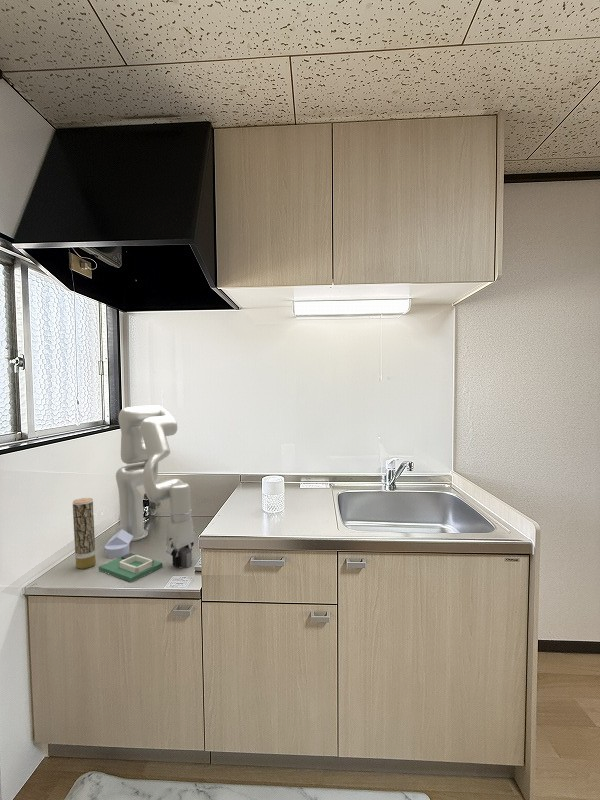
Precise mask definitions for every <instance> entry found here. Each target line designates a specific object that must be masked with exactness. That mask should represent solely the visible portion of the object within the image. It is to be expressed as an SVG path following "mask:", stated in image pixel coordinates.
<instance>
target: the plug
mask: <svg viewBox="0 0 600 800" xmlns="http://www.w3.org/2000/svg"><path fill="white" fill-rule="evenodd" d="M175 553H176V550H175ZM192 555H193V554H192V551H191V549H190V548H186V547H182V548H180V551H179V557H180V567H179V568H181V569H189V568H190V567H192V565H193V559H192ZM171 558H172V560H171V561H172V564H173V556H171Z"/></svg>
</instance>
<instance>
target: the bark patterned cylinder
mask: <svg viewBox="0 0 600 800" xmlns="http://www.w3.org/2000/svg"><path fill="white" fill-rule="evenodd" d="M72 515H73V519H72V521H73V535H74V536H73V537H74V555H75V566H76V568H78V569H80V570H81V569H84V568H85V569H88V568H92V567H93V566H95V565H96V561H97V560H96V559H97V558H96V539H95V519H94V517H95V516H94V499H93V498H91V497H82V498H77V499H74V500H72Z"/></svg>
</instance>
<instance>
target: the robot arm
mask: <svg viewBox="0 0 600 800" xmlns="http://www.w3.org/2000/svg"><path fill="white" fill-rule="evenodd" d="M118 424H119V428H120V432H121V436H120V437H121V438H120V459H121V461H122V463H124V464H127V465H125V466H122V467H120V468H118V469H117V470H116V473H115V480H116V484H117V485H116V486H117V489H118V498H119V499H118V500H119V501H118V502H119V517H120V519H119V520H120V522H119V523H120V524H119V525H117V526H116V530H119V531H120V530H122V529H123V530H124V531H126V532H127V533H129V534H131V535H132V536H133V538H132V540H131V541H130V542H136V541H140V540H142V539H144V538H146V537H147V536H148V534H149V533H148V530H146V529H145V528H144V527H145V526H144V502H143V494H142V492H141V491H140V490H139V489H138V487H140V486H143V488H144V491H145V495H146V497H147V499H148V500H149V502H150V503H151V502H152V503H154V504H155V503H161V502H165V501H168V500H169V519H170V520H169V521H168V524H167V531H166V549H165V552H166V553H167V554H169V555H170V556H171V557H172V556H173V563H172V566H173V567H175V568H181V567H180V557H179V551H180V548H182V547H186V548H190V549H191V552H192V551H193V547H194V544H195V542H196V541H197V537H196V536H195V528H194V521H193V518H192V513H193V511H192V507H191V502H192V501H191V486H190V484H189V483H186V482H183V480H181V478H169V479H164V480H160V481H157V479H158V475H159V473H158V472H159V462H162V460H164V459H166V458H168V456H169V455H170V454H171V450H170V449H171V448H170V446H169V443H168V438H167V437H170V436H175V435H176V434H177V431H178V423H177V421H176V418H175V417H174V416H173V415H172V414H171V412H169V410H166V409H165V408H164V407H163V406H162V405H159V404H151V405H150V404H146V405H135V406H134V405H133V406H127V407H124V408H122V409H120V411H119V413H118ZM175 550H176V553H175Z"/></svg>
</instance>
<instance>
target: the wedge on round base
mask: <svg viewBox="0 0 600 800" xmlns="http://www.w3.org/2000/svg"><path fill="white" fill-rule="evenodd" d="M132 538H133V536H132V535H131V534H129V533H127V532H126V531H124V530H123V529H122V530H119V531H118V532H116V533H115V534H114V535H113V536H111V537H110V538H109V540H108V541H107V543H106V544H105V545H104V555H105V557H106V556H107V557H106V558H109V557H111V559H113V558H115V557H116V558H120V557H122V556H124V555H126V554H129V553H130V543H131V542H132V541H131V540H132ZM116 558H115V559H116Z"/></svg>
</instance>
